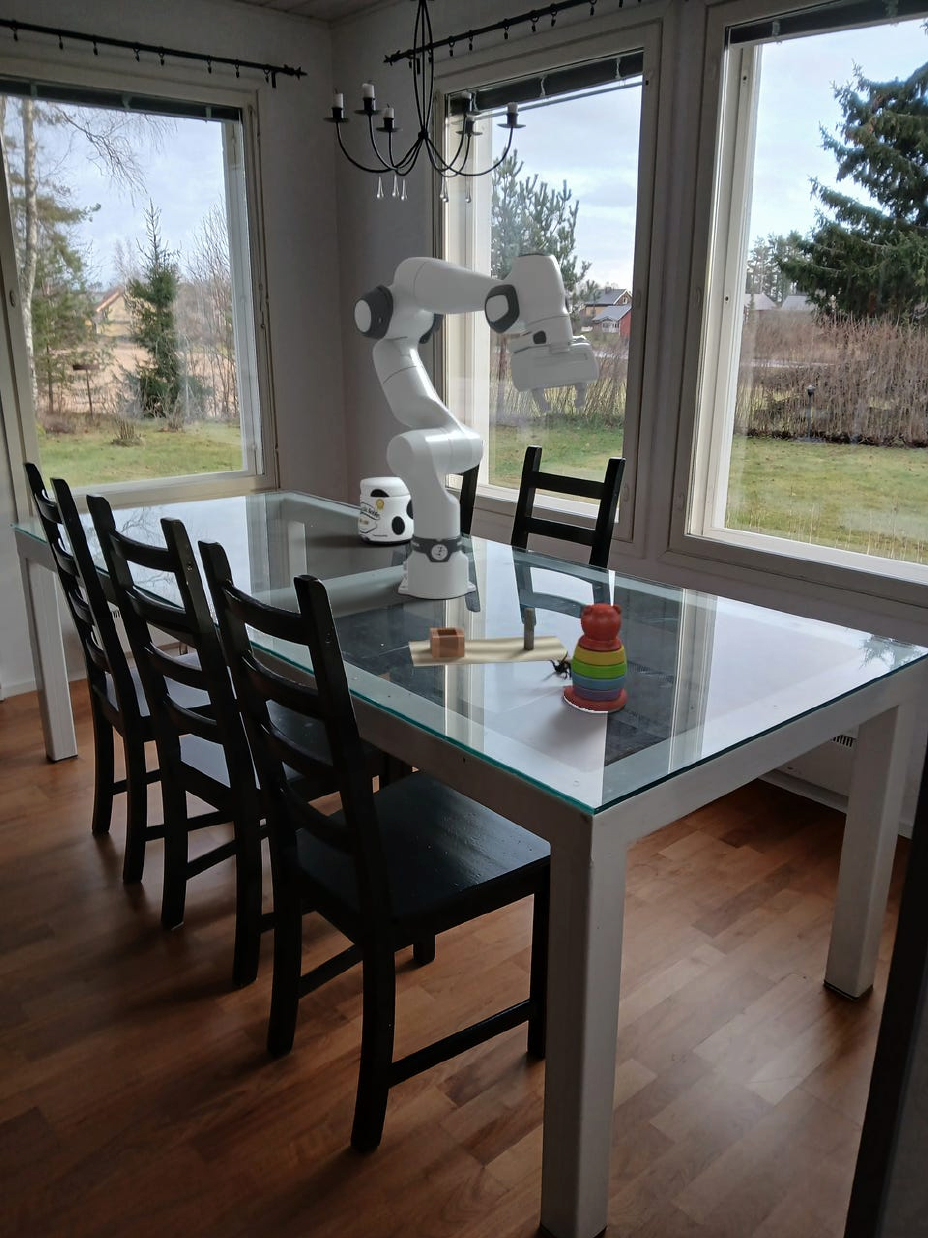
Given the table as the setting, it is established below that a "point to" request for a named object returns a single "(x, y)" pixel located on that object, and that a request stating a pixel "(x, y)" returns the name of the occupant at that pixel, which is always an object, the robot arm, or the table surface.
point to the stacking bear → (599, 661)
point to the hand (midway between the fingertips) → (563, 410)
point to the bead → (447, 642)
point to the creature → (563, 667)
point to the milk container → (385, 511)
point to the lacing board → (498, 649)
